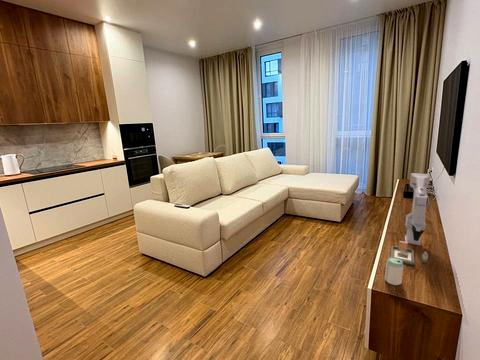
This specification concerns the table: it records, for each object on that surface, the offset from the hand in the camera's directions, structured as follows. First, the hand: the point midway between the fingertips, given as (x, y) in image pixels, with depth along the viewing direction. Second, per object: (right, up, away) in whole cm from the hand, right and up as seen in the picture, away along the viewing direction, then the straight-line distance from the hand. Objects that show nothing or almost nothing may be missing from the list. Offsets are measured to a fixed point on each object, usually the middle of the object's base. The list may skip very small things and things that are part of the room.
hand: (415, 237), depth 148 cm
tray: (-9, -10, -1) cm, 14 cm away
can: (-27, -17, -22) cm, 39 cm away
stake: (-1, -12, -8) cm, 14 cm away
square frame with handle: (-8, -10, -1) cm, 13 cm away
